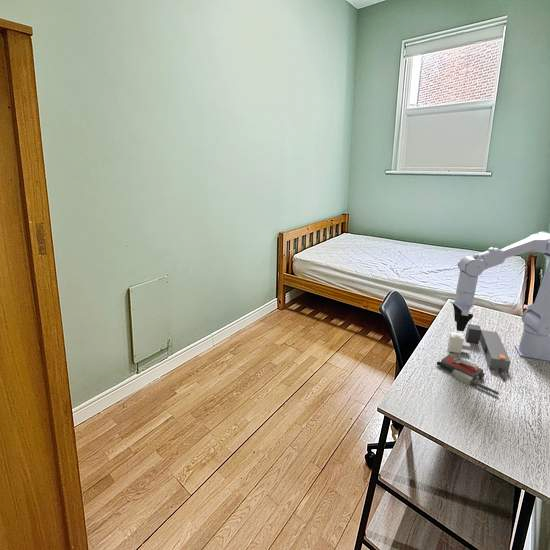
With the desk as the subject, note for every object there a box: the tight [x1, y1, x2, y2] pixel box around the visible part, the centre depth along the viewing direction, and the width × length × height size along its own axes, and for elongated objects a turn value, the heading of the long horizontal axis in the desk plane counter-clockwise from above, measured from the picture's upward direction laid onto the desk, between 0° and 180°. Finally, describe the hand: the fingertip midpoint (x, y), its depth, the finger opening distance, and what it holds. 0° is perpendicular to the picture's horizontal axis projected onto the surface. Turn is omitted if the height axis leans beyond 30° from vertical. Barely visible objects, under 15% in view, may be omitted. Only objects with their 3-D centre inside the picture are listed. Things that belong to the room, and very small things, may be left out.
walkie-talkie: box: [436, 354, 500, 395], centre depth 115 cm, size 9×4×20 cm
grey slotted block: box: [464, 323, 511, 381], centre depth 126 cm, size 10×28×6 cm, turn 159°
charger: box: [447, 331, 471, 354], centre depth 130 cm, size 7×4×6 cm, turn 69°
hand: (458, 326), depth 128 cm, fingers open, 7 cm apart
